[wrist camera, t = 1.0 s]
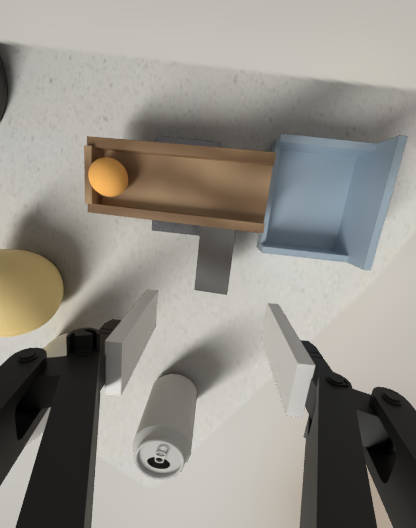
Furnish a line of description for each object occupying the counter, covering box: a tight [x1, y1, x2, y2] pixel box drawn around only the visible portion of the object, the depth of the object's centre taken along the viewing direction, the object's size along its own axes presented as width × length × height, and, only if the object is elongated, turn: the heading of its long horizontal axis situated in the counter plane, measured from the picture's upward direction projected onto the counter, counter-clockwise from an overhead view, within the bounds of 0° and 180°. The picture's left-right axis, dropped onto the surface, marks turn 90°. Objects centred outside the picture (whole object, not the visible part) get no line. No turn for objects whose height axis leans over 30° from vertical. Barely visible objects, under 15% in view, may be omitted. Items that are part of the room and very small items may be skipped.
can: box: [133, 374, 197, 480], centre depth 36 cm, size 8×8×12 cm
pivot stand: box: [152, 136, 220, 236], centre depth 31 cm, size 12×8×4 cm, turn 174°
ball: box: [88, 157, 128, 197], centre depth 27 cm, size 4×4×4 cm
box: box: [257, 134, 408, 271], centre depth 29 cm, size 14×11×8 cm
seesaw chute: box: [84, 136, 276, 295], centre depth 28 cm, size 16×20×3 cm
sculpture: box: [0, 249, 64, 337], centre depth 32 cm, size 11×12×11 cm
